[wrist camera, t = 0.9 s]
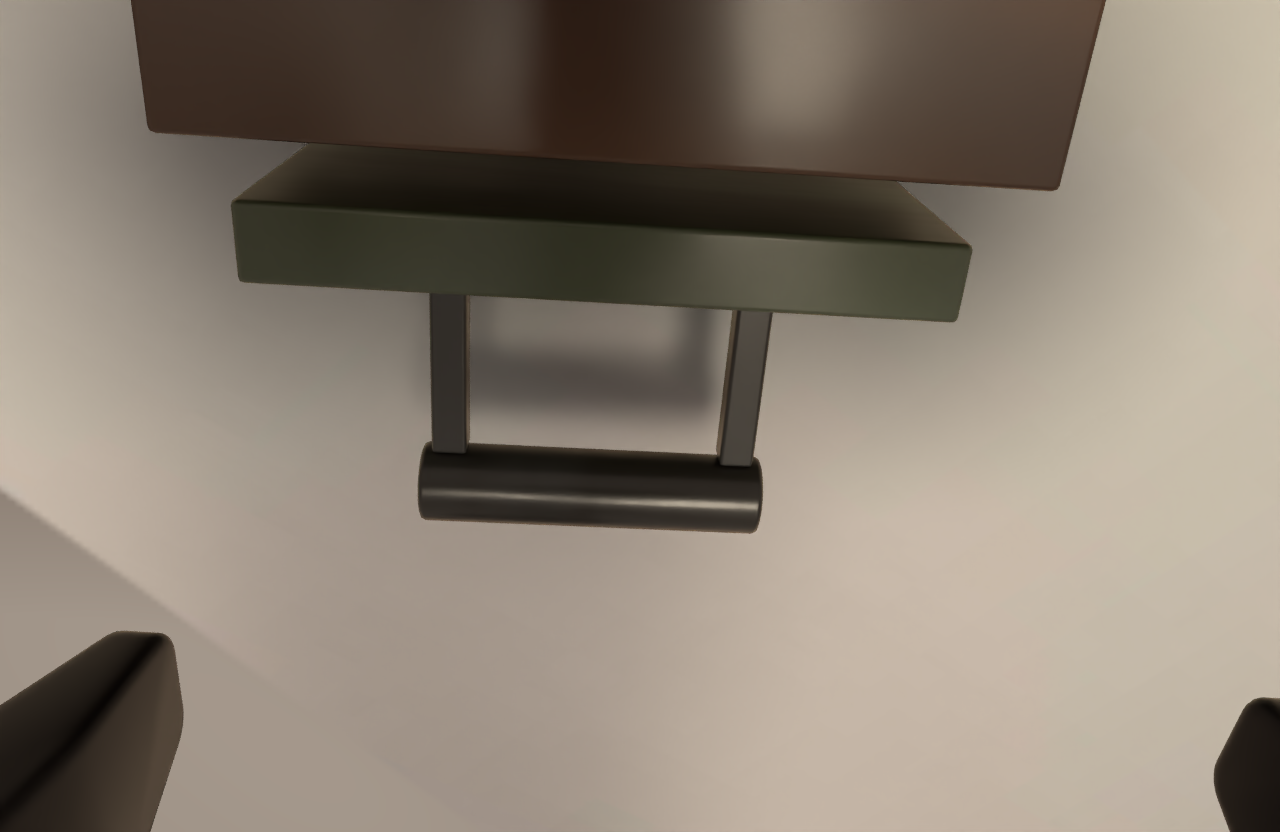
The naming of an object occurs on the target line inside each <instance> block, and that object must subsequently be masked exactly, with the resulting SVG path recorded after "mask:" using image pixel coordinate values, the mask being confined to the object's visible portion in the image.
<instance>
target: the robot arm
mask: <svg viewBox="0 0 1280 832" xmlns="http://www.w3.org/2000/svg"><path fill="white" fill-rule="evenodd" d="M182 727H183V704H182V696H181V690H180V683H179V676H178V670H177V662H176V655H175V650H174V645H173V643H172V641H171V639H170V638H169V637H168V636H167V635H165V634H162V633H154V632H152V633H151V632H137V631H116V632H113V633H111V634H109V635H107V636H105V637H104V638H102V639H101V640H99V641H97V642H96V643H94V644H93V645H91V646H90V647H88V648H87V649H85V650H84V651H82V652H81V653H79V654H78V655H76V656H75V657H73V658H72V659H70V660H69V661H67V662H65V663H64V664H62V665H61V666H59V667H58V668H56V669H55V670H53V671H52V672H51V673H49V674H47V675H46V676H44V677H43V678H41V679H40V680H38V681H37V682H35V683H33V684H32V685H30V686H29V687H27V688H26V689H24V690H23V691H21V692H20V693H18V694H17V695H15V696H14V697H12V698H11V699H9V700H8V701H6V702H4V703H3V704H1V705H0V832H150V831H151V828H152V825H153V821H154V818H155V815H156V812H157V809H158V806H159V803H160V800H161V797H162V794H163V791H164V788H165V785H166V781H167V778H168V775H169V772H170V769H171V766H172V763H173V760H174V756H175V754H176V751H177V748H178V744H179V741H180V738H181V733H182ZM1214 786H1215V792H1216V795H1217V798H1218V801H1219V804H1220V806H1221V809H1222V812H1223V814H1224V817H1225V820H1226V822H1227V825H1228V828H1229V830H1230V832H1280V698H1265V697H1264V698H1257V699H1254V700H1252V701H1251V702H1250V703H1248V704H1247V705H1246V706H1245V708H1244V709H1243V711H1242V713H1241V715H1240V717H1239V719H1238V721H1237V722H1236V724H1235V726H1234V728H1233V730H1232V732H1231V734H1230V736H1229V738H1228V740H1227V742H1226V744H1225V746H1224V748H1223V750H1222V752H1221V754H1220V756H1219V758H1218V760H1217V762H1216V765H1215V769H1214Z"/></svg>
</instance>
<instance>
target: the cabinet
mask: <svg viewBox="0 0 1280 832" xmlns="http://www.w3.org/2000/svg"><path fill="white" fill-rule="evenodd" d="M1105 2H1106V0H131V5H132V12H133V20H134V27H135V35H136V42H137V50H138V57H139V65H140V72H141V80H142V87H143V95H144V102H145V110H146V117H147V125H148V128H149V130H150V131H153V132H155V133H164V134H180V135H195V136H210V137H226V138H241V139H256V140H272V141H287V142H302V143H318V144H333V145H348V146H364V147H379V148H394V149H410V150H425V151H440V152H456V153H471V154H486V155H502V156H517V157H532V158H548V159H563V160H578V161H594V162H609V163H624V164H640V165H655V166H670V167H686V168H701V169H716V170H732V171H747V172H762V173H778V174H793V175H808V176H824V177H839V178H854V179H870V180H885V181H900V182H916V183H931V184H946V185H962V186H977V187H993V188H1008V189H1023V190H1039V191H1054V190H1057V189H1058V187H1059V186H1060V182H1061V178H1062V174H1063V170H1064V166H1065V162H1066V158H1067V154H1068V150H1069V146H1070V142H1071V138H1072V134H1073V130H1074V126H1075V122H1076V118H1077V114H1078V110H1079V106H1080V102H1081V98H1082V94H1083V90H1084V86H1085V82H1086V78H1087V74H1088V70H1089V66H1090V62H1091V58H1092V54H1093V50H1094V46H1095V42H1096V38H1097V34H1098V30H1099V26H1100V22H1101V18H1102V14H1103V10H1104V6H1105Z"/></svg>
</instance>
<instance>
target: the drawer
mask: <svg viewBox="0 0 1280 832" xmlns="http://www.w3.org/2000/svg"><path fill="white" fill-rule="evenodd" d="M231 212H232V222H233V232H234V242H235V251H236V261H237V271H238V277H239V280H240V281H242V282H245V283H260V284H277V285H295V286H313V287H331V288H348V289H366V290H384V291H402V292H419V293H429V308H430V364H431V420H432V441H430V442H427V443H426V444H425V446H424V448H423V450H422V454H421V459H420V466H419V475H418V507H419V512H420V515H421V518H423V519H425V520H440V521H463V522H487V523H511V524H535V525H558V526H582V527H606V528H629V529H653V530H677V531H701V532H724V533H748V534H751V533H753V532H755V531H756V530H757V527H758V525H759V522H760V517H761V511H762V501H763V477H762V469H761V465H760V462H759V460H758V459H757V458H756V457H753V456H754V448H755V441H756V433H757V426H758V419H759V411H760V404H761V397H762V389H763V382H764V375H765V367H766V360H767V352H768V345H769V338H770V330H771V323H772V316H773V312H775V313H792V314H810V315H828V316H846V317H863V318H881V319H899V320H917V321H934V322H955V321H956V320H957V318H958V314H959V310H960V305H961V301H962V296H963V292H964V287H965V282H966V278H967V273H968V269H969V264H970V260H971V255H972V246H971V245H970V244H969V243H968V242H967V241H965V240H964V239H963V238H962V237H961V236H960V235H958V234H957V233H956V232H955V231H954V230H953V229H951V228H950V227H949V226H948V225H947V224H946V223H944V222H943V221H942V220H941V219H940V218H939V217H937V216H936V215H935V214H934V213H933V212H931V211H930V210H929V209H928V208H927V207H926V206H924V205H923V204H922V203H921V202H920V201H919V200H917V199H916V198H915V197H914V196H913V195H912V194H910V193H909V192H908V191H907V190H906V189H905V188H903V187H902V186H901V185H900V184H899V183H898V182H896V181H885V180H870V179H854V178H839V177H824V176H808V175H793V174H778V173H762V172H747V171H732V170H716V169H701V168H686V167H670V166H655V165H640V164H624V163H609V162H594V161H578V160H563V159H548V158H532V157H517V156H502V155H486V154H471V153H456V152H440V151H425V150H410V149H394V148H379V147H364V146H348V145H333V144H318V143H309V144H307V145H306V146H305V147H303V148H302V149H301V150H299V151H298V152H297V153H295V154H294V155H293V156H291V157H290V158H289V159H287V160H286V161H285V162H283V163H282V164H281V165H279V166H278V167H277V168H275V169H274V170H273V171H271V172H270V173H268V174H267V175H266V176H264V177H263V178H262V179H260V180H259V181H258V182H256V183H255V184H254V185H252V186H251V187H250V188H248V189H247V190H246V191H244V192H243V193H242V194H240V195H239V196H238V197H236V198H235V199H234V200H232V203H231ZM470 295H473V296H490V297H508V298H526V299H544V300H561V301H579V302H597V303H615V304H632V305H650V306H668V307H686V308H703V309H721V310H732V319H731V327H730V336H729V344H728V353H727V361H726V370H725V378H724V387H723V395H722V404H721V412H720V421H719V429H718V438H717V446H716V451H717V455H712V454H691V453H669V452H648V451H627V450H606V449H585V448H563V447H542V446H521V445H500V444H478V443H469V440H470Z"/></svg>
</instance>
